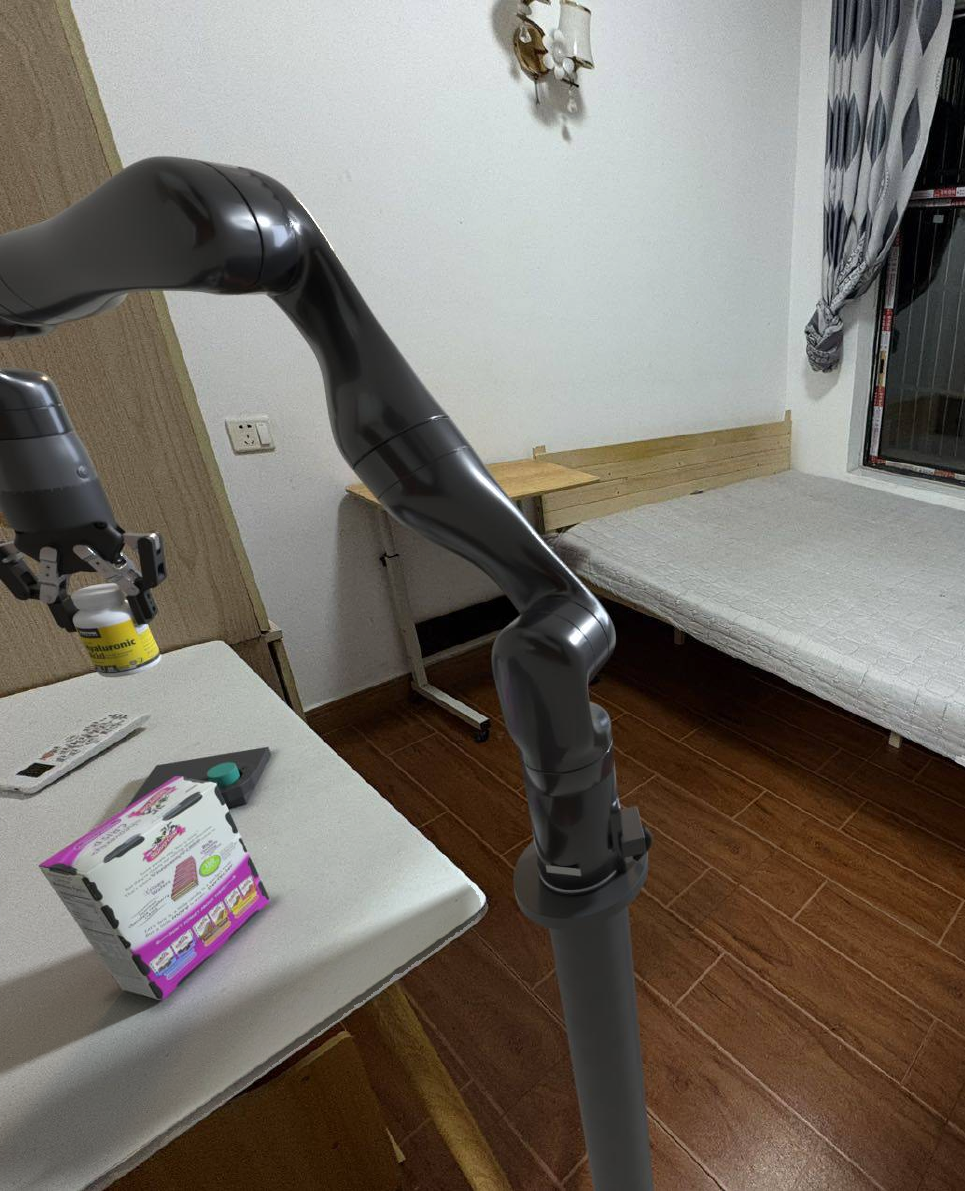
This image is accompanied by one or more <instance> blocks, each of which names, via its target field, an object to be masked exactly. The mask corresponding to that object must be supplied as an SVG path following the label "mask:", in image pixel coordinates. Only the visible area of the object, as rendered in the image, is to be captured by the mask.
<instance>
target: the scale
mask: <svg viewBox="0 0 965 1191" xmlns="http://www.w3.org/2000/svg"><path fill="white" fill-rule="evenodd" d="M271 756H272V753H271V749H270V747H269V746H264V747H257V748H253V749H246V750H240V751H234V752H228V753H222V754H221V753H220V754H216V755H211V756H204V757H198V758H192V759H185V760H181V761H174V762H167V763H163V764H156V765H155V767H154V768H153V770H152V771H151V772H150V773H149V775H148V776H147V778H146V779H145V781H144V782H143V783H142V785H141V786H140V787H139V789H138V790H137V792H136V793H135V794H134V796H133V797H132V799H131V800H130V801H129V803H128V804H127V806H126V807H125V808H124V809H126V808H127V807H129V806H130V805H132V804H133V803H135V802H136V801H138V800H140V799H141V798H143V797H144V796H146V795H147V794H149V793H150V792H152V791H153V790H155V789H157V788H158V787H160V786H161V785H163V784H164V783H166V782H167V781H169V780H170V779H172V778H173V777H175V776H182V777H186V778H187V779H195V780H200V781H207V782H209V779H208V777H207V772H208V771H209V770H210V769H211V768H213V767H215V766H217V765H219V764H222V763H228V762H231V763H234V764H236V766H237V769H238V771H239V774H240V778H239V779H238V780H237V781H236V782H234V783H232V784H230V785H227V786H225V787H220V788H219V790H220V792H221V795H222V797H223V799H224V802H225V804H226V806H227V808H228V809H229V808H232V807H238V806H243V805H244V806H245V805H247V804H248V803H249V801H250V798H251V797H252V794H253V793H254V791H255V789H256V786H257V784H258V782H259V780H260V778H261V776H262V774H263V773H264V770H265V769H266V766H267V764H268V763H269V761H270V758H271Z"/></svg>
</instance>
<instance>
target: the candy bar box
mask: <svg viewBox="0 0 965 1191" xmlns="http://www.w3.org/2000/svg"><path fill="white" fill-rule="evenodd" d="M126 807H127V806H126ZM126 807H125V808H126ZM125 808H124V809H123V810H121V811H120V812H118V813H117V814H115V815H113V816H112V817H111V818H109V819H107V820H105V821H104V822H103V823H101V824H100V825H97V827H94V828H93V829H92V830H90V831H89V832H87V833H85V835H83V836H81V837H79V838H78V839H76V840H74V841H73V842H71V843H70V844H69V845H67V846H66V847H64V848H63V849H60V851H58V852H56V853H55V854H53V855H52V856H50V857H48V858H47V859H45V860H44V861H43V862H41V863H39V864H38V868H39V869H40V871H41V872H42V874H43V876H44V877H45V878H46V879H47V881H48V883H49V884H50V886H51V888H52V889H53V890H54V891H55V893H56V894H57V895H58V897H59V899H60V900H61V901H62V902H61V903H63V905H64V906H65V908H66V909H67V911H68V912H69V914H70V916H71V917H72V918H73V920H74V921H75V923H76V924H77V925H78V927H79V929H80V930H81V932H82V933H83V935H84V936H85V938H86V939H87V941H88V943H89V944H90V945H91V946H92V948H93V950H94V951H95V952H96V955H97V956H98V957H99V959H100V961H101V962H102V963H103V965H104V966H105V968H106V969H107V971H108V972H109V973H110V975H111V977H112V978H113V980H114V981H115V983H116V984H117V986H118V987H119V988H120V990H122V991H123V992H127V993H130V994H135V995H140V996H144V997H147V998H150V999H154V1000H157V1001H164V1000H166V999H167V998H168V997H169V996H170V995H171V994H173V992H174V991H176V990H177V989H178V988H179V987H180V986H181V985H182V984H183V983H184V982H186V980H187V979H188V978H189V977H190V976H192V975H193V974H194V973H195V972H196V971H197V970H198V969H199V968H200V967H201V966H202V965H203V964H205V962H207V961H208V960H209V959H210V958H211V957H212V956H213V955H214V954H215V953H216V952H217V951H218V950H219V949H221V948H222V947H223V946H224V945H225V944H226V943H227V942H228V941H229V940H230V939H231V938H233V937H234V935H235V934H237V932H239V931H240V930H241V929H242V928H243V927H244V926H245V925H246V924H247V923H248V922H250V921H251V920H252V919H253V917H255V916H256V915H257V913H258V912H260V911H261V910H262V909H263V908H265V907H266V906H267V905H268V904H269V903H270V902H271V898H270V896H269V894H268V892H267V890H266V888H265V885H264V883H263V881H262V879H261V877H260V875H259V872H258V871H257V868H256V866H255V864H254V862H253V859H252V857H251V855H250V853H249V851H248V849H247V847H246V846H245V843H244V840H243V839H242V836H241V833H240V831H239V829H238V828H237V826H236V822H235V821H234V819H233V816H232V814H231V812H230V810H229V807H228V808H227V806H226V804H225V802H224V799H223V797H222V795H221V792H220V790H219V788H218V786H217V784H216V783H213V782H207V781H200V780H195V779H187V778H186V777H182V776H175V777H173V778H172V779H170V780H169V781H167V782H166V783H164V784H163V785H161V786H160V787H158V788H157V789H155V790H153V791H152V792H150V793H149V794H147V795H146V796H144V797H143V798H141V799H140V800H138V801H136V802H135V803H133V804H132V805H130V806H129V807H127V808H126V809H125Z"/></svg>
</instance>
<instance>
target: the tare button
mask: <svg viewBox="0 0 965 1191" xmlns="http://www.w3.org/2000/svg"><path fill="white" fill-rule="evenodd" d="M207 777H208V779H209V782H213V783H216V784H217V786H218V788H220V787H225V786H227V785H230V784H232V783H234V782H236V781H237V780H238V779H239V778H240V774H239V771H238V769H237V766H236V764H234V763H231V762H228V763H222V764H219V765H217V766H215V767H213V768H211V769H210V770H209V771H208V772H207Z"/></svg>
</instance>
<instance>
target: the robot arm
mask: <svg viewBox="0 0 965 1191" xmlns="http://www.w3.org/2000/svg"><path fill="white" fill-rule="evenodd" d="M152 291H153V292H159V291H160V292H191V293H192V292H195V293H204V294H210V295H215V296H252V295H253V296H255V295H256V296H257V295H258V296H259V295H265V296H267V297H268V298H270V299H271V300H272V301H273V302H274V303H275V305H277V306H278V308H279V309H280V310H281V311H282V312H283V313H284V314H285V316H286V317H287V318H288V319H289V320H290V321H291V323H292V324H293V325H294V327H295V328H296V329H297V331H298V332H299V334H300V335H301V337H303V339H304V341H305V342H306V344H308V346H309V348H310V349H311V351H312V353H313V355H314V357H315V359H316V361H317V364H318V365H319V370H320V372H321V377H322V381H323V387H324V388H323V389H324V394H325V401H326V408H327V414H328V420H329V424H330V429H331V433H332V436H333V439H334V443H335V446H336V448H337V450H338V452H339V453H340V455H341V456H342V458H343V460H344V461H345V463H346V464H347V466H348V467H349V468H350V469H351V471H353V472H354V474H355V476H356V477H357V478H358V479H359V480H360V481H361V483H363V485H364V486H365V487H366V489H367V490H368V491H369V492H370V493H371V495H372V496H373V497H374V498H375V499H376V501H377V502H378V504H380V505H381V506H382V508H383V509H384V510H385V511H386V512H387V513H388V514H389V515H390V516H391V517H392V518H393V519H394V520H396V521H397V522H399V523H400V524H401V525H402V526H404V527H406V528H407V529H409V530H410V531H412V532H413V533H415V534H417V535H418V536H420V537H422V538H423V539H426V540H427V541H429V542H431V543H433V544H435V545H437V546H439V547H440V548H443V549H444V550H446V551H449V552H450V553H452V554H455V555H456V556H458V557H460V558H462V559H464V560H465V561H467V562H469V563H471V564H472V565H474V566H475V567H477V569H479V570H481V571H482V572H483V573H484V574H485V575H486V576H488V577H489V578H490V579H491V580H492V581H493V582H494V583H495V585H497V587H498V588H499V589H500V590H501V591H502V592H503V594H504V595H505V596H506V597H507V598H508V599H509V601H510V602H511V604H512V605H513V607H514V608H515V609H516V610H517V612H518V613H519V615H518V616H517V617H516V618H515V619H513V620H512V621H511V622H510V623H509V624H508V625H506V626H505V627H504V628H503V629H501V631H500V632H499V633H498V634H497V636H496V637H495V639H494V641H493V644H492V648H491V670H492V677H493V681H494V686H495V689H496V693H497V698H498V701H499V705H500V710H501V713H502V718H503V722H504V726H505V728H506V731H507V733H508V735H509V736H510V738H511V740H512V741H513V742H514V744H515V745H516V747H517V748H518V753H519V760H520V765H521V766H520V767H521V771H522V777H523V783H524V789H525V795H526V801H527V806H528V812H529V818H530V824H531V830H532V836H533V840H534V842H535V848H536V854H537V862H538V871H539V877H540V880H541V882H542V884H543V885H544V886H545V888H547V889H548V890H549V891H551V892H552V893H555V894H557V895H561V896H568V897H574V896H582V895H586V894H590V893H592V892H595V891H597V890H599V889H601V888H603V887H604V886H606V885H607V884H608V883H610V882H611V881H612V880H613V879H614V878H615V877H616V876H617V875H619V874H622V873H625V872H626V860H625V858H626V857H630V856H632V857H633V859H634V860H635V861H639V860H640V858H641V857H642V856H643V855H644V854H645V853H646V852H647V851H648V852H649V850H650V848H652V845H653V842H654V836H653V834H652V832H651V830H649V828H648V827H646V825H645V824H644V825H642V819H641V816H640V812H639V808H638V805H635V806H630V807H626V808H621V803H620V799H619V794H618V784H617V772H616V763H615V762H616V761H615V755H614V754H615V752H614V740H613V729H612V721H611V717H610V715H609V714H608V711H607V710H606V709H604V708H603V707H602V706H601V705H599V704H597V703H595V702H593V701H590V696H589V684H590V683H591V682H592V680H593V679H594V678H595V677H596V675H597V674H598V673H599V672H600V671H601V670H602V669H603V667H604V666H605V665H606V664H607V662H608V661H609V659H610V658H611V656H612V655H613V653H614V650H615V647H616V644H617V637H616V636H617V635H616V630H615V626H614V623H613V620H612V619H611V617H610V615H609V613H608V612H607V610H606V608H605V607H604V606H603V605H602V603H601V602H600V601H599V599H598V598H597V597H596V595H594V593H592V591H591V590H590V589H589V588H588V587H587V586H586V585H585V584H584V582H582V580H581V579H580V578H579V577H578V576H577V575H576V574H575V573H574V571H572V570H571V569H570V567H568V566H567V564H566V563H565V562H564V561H563V559H561V558H560V557H559V555H557V553H556V552H555V551H554V550H553V549H552V548H551V547H550V546H549V545H548V544H547V543H546V541H545V540H544V538H542V537H541V535H540V533H538V531H537V530H536V529H535V528H534V526H532V524H531V522H530V521H529V520H528V519H527V517H526V516H525V515H524V514H523V512H522V511H521V510H520V509H519V508H518V506H517V504H516V503H515V502H514V501H513V500H512V499H511V497H510V496H509V494H508V493H507V492H506V491H505V490H504V488H503V487H502V485H501V484H500V483H499V482H498V480H497V479H496V478H495V477H494V475H493V474H492V473H491V471H490V470H489V468H488V467H487V465H486V464H485V463H484V461H483V460H482V458H481V457H480V455H479V454H478V452H477V451H476V450H475V448H474V447H473V446H472V444H471V443H470V441H469V440H468V439H467V437H466V436H465V435H464V434H463V431H461V430H460V429H459V427H458V426H457V424H456V423H455V421H454V420H453V419H452V418H451V416H450V415H449V414H448V413H447V412H446V410H445V408H443V407H442V406H441V404H440V403H439V402H438V400H437V399H436V398H435V397H434V396H433V394H432V393H431V392H430V390H429V389H428V387H426V385H425V384H424V383H423V381H422V380H421V379H420V377H419V375H418V374H417V373H416V371H415V370H414V369H413V367H412V366H411V364H410V363H409V361H408V360H407V359H406V357H405V356H404V355H403V353H402V352H401V350H400V349H399V348H398V346H397V345H396V343H395V342H394V340H393V339H392V338H391V336H390V335H389V334H388V333H387V331H386V329H385V328H384V327H383V325H382V324H381V323H380V321H379V319H377V316H376V315H375V314H374V312H373V311H372V309H371V307H370V306H369V305H368V303H367V301H366V300H365V298H364V296H363V295H362V294H361V292H360V290H359V289H358V287H357V285H356V284H355V282H354V281H353V279H352V277H351V275H350V274H349V273H348V270H347V269H346V268H345V266H344V265H343V262H342V261H341V260H340V258H339V256H338V254H337V253H336V251H335V250H334V248H333V247H332V245H331V243H330V242H329V240H328V239H327V237H326V235H325V234H324V232H323V231H322V229H321V228H320V226H319V225H318V223H317V222H316V221H315V219H314V217H313V216H312V214H311V213H310V212H309V210H308V209H307V208H306V207H305V206H304V204H303V203H302V202H301V201H300V200H299V198H298V197H297V196H296V194H294V193H293V191H291V190H290V189H289V188H288V187H287V186H285V185H284V184H283V183H282V182H280V181H279V180H277V179H276V178H274V177H272V176H270V175H268V174H266V173H264V172H261V171H258V170H255V169H252V168H248V167H244V166H237V165H233V164H228V163H220V162H214V161H209V160H202V159H196V158H188V157H182V156H181V157H179V156H171V155H158V156H150V157H146V158H143V159H140V160H138V161H136V162H133V163H132V164H129V165H128V166H126V167H124V168H122V169H121V170H120V171H118V172H117V173H115V174H114V175H112V176H111V177H109V178H107V179H106V180H105V181H104V182H102V183H101V184H100V185H98V186H96V188H94V189H93V190H92V191H90V192H89V193H88V194H86V195H85V196H83V197H82V198H80V199H79V200H77V201H76V202H74V203H73V204H71V205H70V206H69V207H67V208H66V209H63V210H62V211H61V212H59V213H57V214H55V215H53V216H52V217H50V218H48V219H45V220H43V221H41V222H38V223H34V224H31V225H28V226H25V227H22V228H19V229H14V230H10V231H7V232H4V233H1V234H0V342H3V341H6V342H7V341H22V340H30V339H36V338H41V337H45V336H47V335H50V334H51V333H53V332H55V331H56V330H57V329H58V328H60V327H61V326H62V325H63V324H68V323H72V322H73V323H74V322H77V321H81V320H84V319H89V318H92V317H97V316H99V315H101V314H104V313H107V312H109V311H112V310H114V309H115V308H116V307H118V306H119V305H120V304H122V303H123V302H124V300H125V299H126V298H127V296H128V294H131V293H137V292H152ZM0 511H1V514H2V516H3V517H4V519H5V521H6V524H7V526H8V527H9V528H10V529H12V530H13V531H14V533H15V534H14V540H12V541H3V540H0V581H1V582H2V584H4V585H5V587H6V588H7V589H8V591H9V592H10V593H11V594H12V595H13V596H14V598H16V599H17V600H19V601H28V600H37V601H41V602H42V603H43V604H46V605H47V607H48V609H49V611H50V613H51V615H52V617H53V619H54V621H55V623H56V625H57V626H58V627H60V629H65V631H66V632H67V633H69V634H71V633H72V634H73V633H78V632H77V630H76V628H75V626H74V623H73V617H74V615H75V614H76V613H77V612H78V611H79V610H80V609H77V608H76V606H75V605H74V603H73V601H72V599H71V594H69V588H70V580H71V576H72V575H74V574H77V573H80V572H82V573H99V574H100V576H102V577H103V578H104V579H105V580H107V581H109V582H113V583H114V584H117V585H118V586H119V587H120V588H121V589H122V590H123V591H124V592H125V594H126V599H125V600H127V601H128V603H129V606H130V608H131V610H132V612H133V615H134V617H135V619H136V621H137V623H138V624H139V625H144V624H148V625H149V624H150V623H151V622H152V621H153V620H154V619H155V616H156V615H158V612H159V608H158V606H157V604H156V602H155V599H154V597H153V594H152V592H151V589H155V588H157V587H158V586H159V585H160V584H161V583H162V582H163V581H165V580H166V579H167V578H168V572H167V566H166V565H167V564H166V556H165V549H164V542H163V541H164V540H163V535H162V533H161V532H159V531H157V530H150V531H148V532H146V533H143V532H128V531H126V529H124V528H123V527H122V526H121V525H120V524H119V523H118V522H117V520H116V517H115V513H114V510H113V507H112V505H111V502H110V500H109V498H108V496H107V493H106V491H105V488H104V486H103V483H102V482H101V480H100V477H99V474H98V473H97V470H96V467H95V465H94V463H93V460H92V458H91V456H90V453H89V451H88V450H87V448H86V446H85V445H84V443H83V441H82V440H81V438H80V436H79V435H78V433H77V431H76V429H75V427H74V425H73V422H72V420H71V418H70V416H69V413H68V410H67V407H66V405H65V403H64V402H63V398H62V396H61V395H60V392H59V390H58V387H57V386H56V384H55V382H54V381H53V380H52V379H51V377H50V376H48V375H47V374H46V373H44V372H41V371H38V370H35V369H31V368H23V367H13V366H1V365H0ZM125 545H128V546H130V548H131V550H132V552H133V553H134V554H138V558H139V559H138V560H139V565H140V571H139V570H138V569H137V568H136V565H135V563H134V561H132V560H131V559H130V558H129V557H128V556H127V555H126V554H125V553H124V552H123V549H124V547H125ZM25 555H26V556H27V557H29V558H31V559H32V560H34V561H35V562H37V563H39V572H38V576H37V575H36V574H35V572H33V570H32V569H31V567H29V565H28V564H27V563H26V562H25V561H24V556H25Z"/></svg>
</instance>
